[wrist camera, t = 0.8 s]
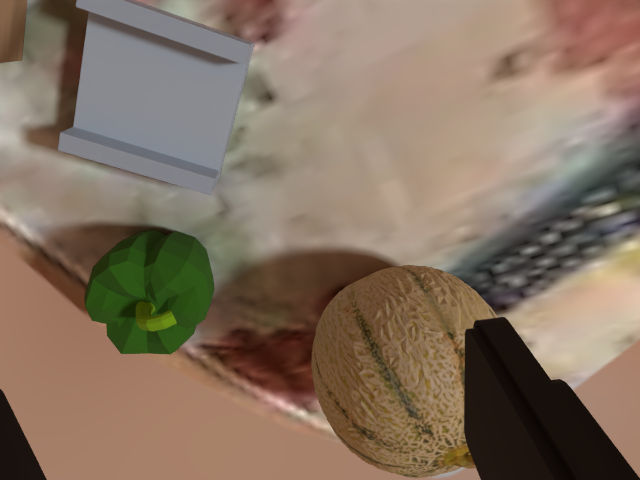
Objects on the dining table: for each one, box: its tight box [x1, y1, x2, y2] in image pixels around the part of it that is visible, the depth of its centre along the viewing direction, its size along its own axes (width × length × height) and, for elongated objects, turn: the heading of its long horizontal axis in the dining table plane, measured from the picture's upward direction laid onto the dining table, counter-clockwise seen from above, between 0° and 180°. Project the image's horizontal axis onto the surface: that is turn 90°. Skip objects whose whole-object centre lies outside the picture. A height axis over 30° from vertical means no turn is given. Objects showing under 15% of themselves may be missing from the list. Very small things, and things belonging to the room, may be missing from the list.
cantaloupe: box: [311, 265, 498, 478], centre depth 35 cm, size 15×15×15 cm
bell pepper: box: [84, 230, 214, 354], centre depth 35 cm, size 8×8×10 cm
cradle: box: [58, 0, 254, 195], centre depth 32 cm, size 10×10×4 cm
